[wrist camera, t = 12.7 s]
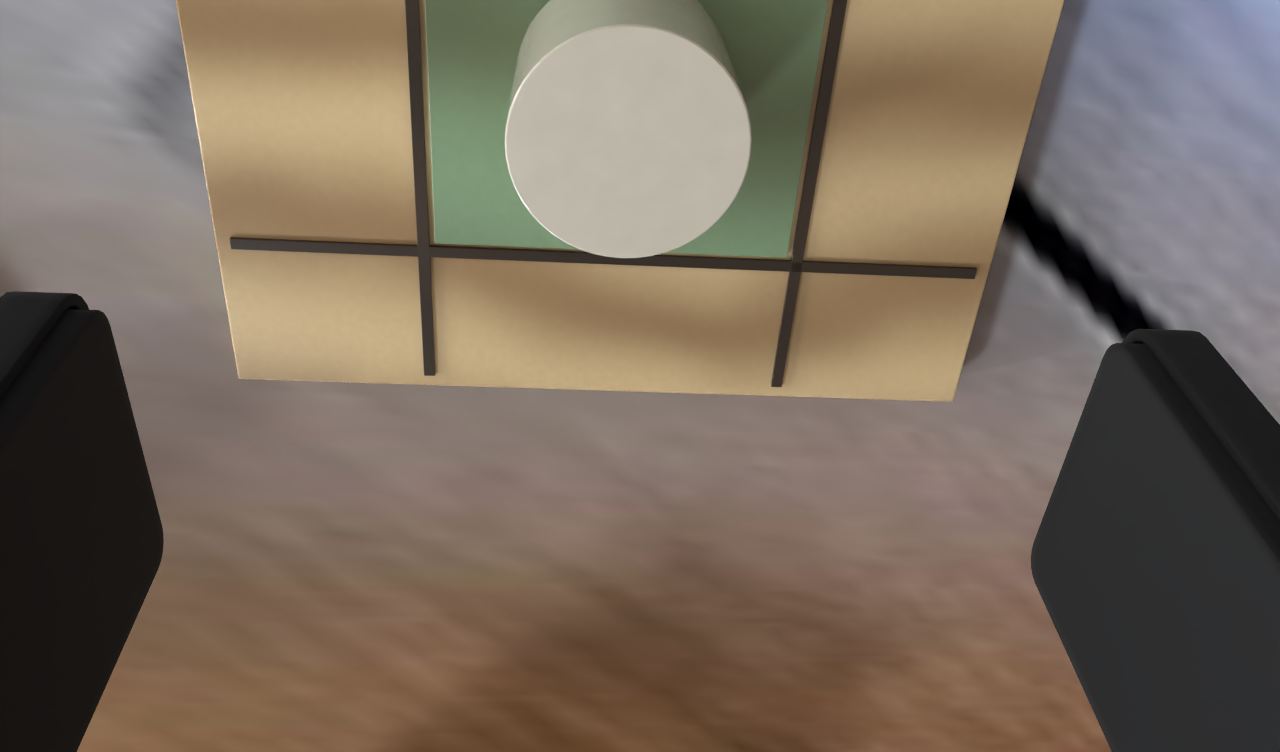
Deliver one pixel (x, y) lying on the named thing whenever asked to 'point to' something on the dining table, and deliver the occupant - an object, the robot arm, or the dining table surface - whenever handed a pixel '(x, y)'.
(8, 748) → the robot arm
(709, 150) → the white cylinder puck
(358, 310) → the board
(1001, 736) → the dining table surface
